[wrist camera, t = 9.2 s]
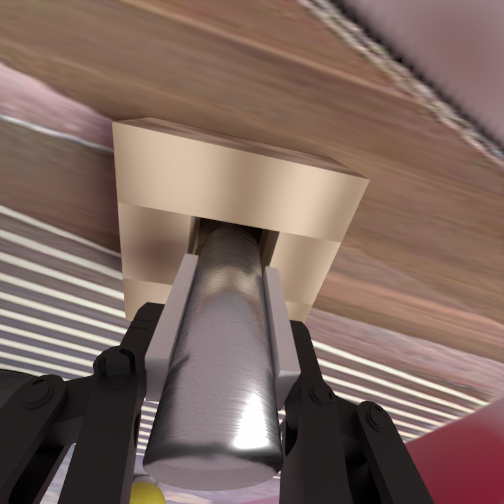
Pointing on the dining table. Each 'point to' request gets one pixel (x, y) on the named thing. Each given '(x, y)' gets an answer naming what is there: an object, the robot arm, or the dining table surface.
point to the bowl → (146, 491)
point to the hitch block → (225, 206)
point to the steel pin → (219, 378)
